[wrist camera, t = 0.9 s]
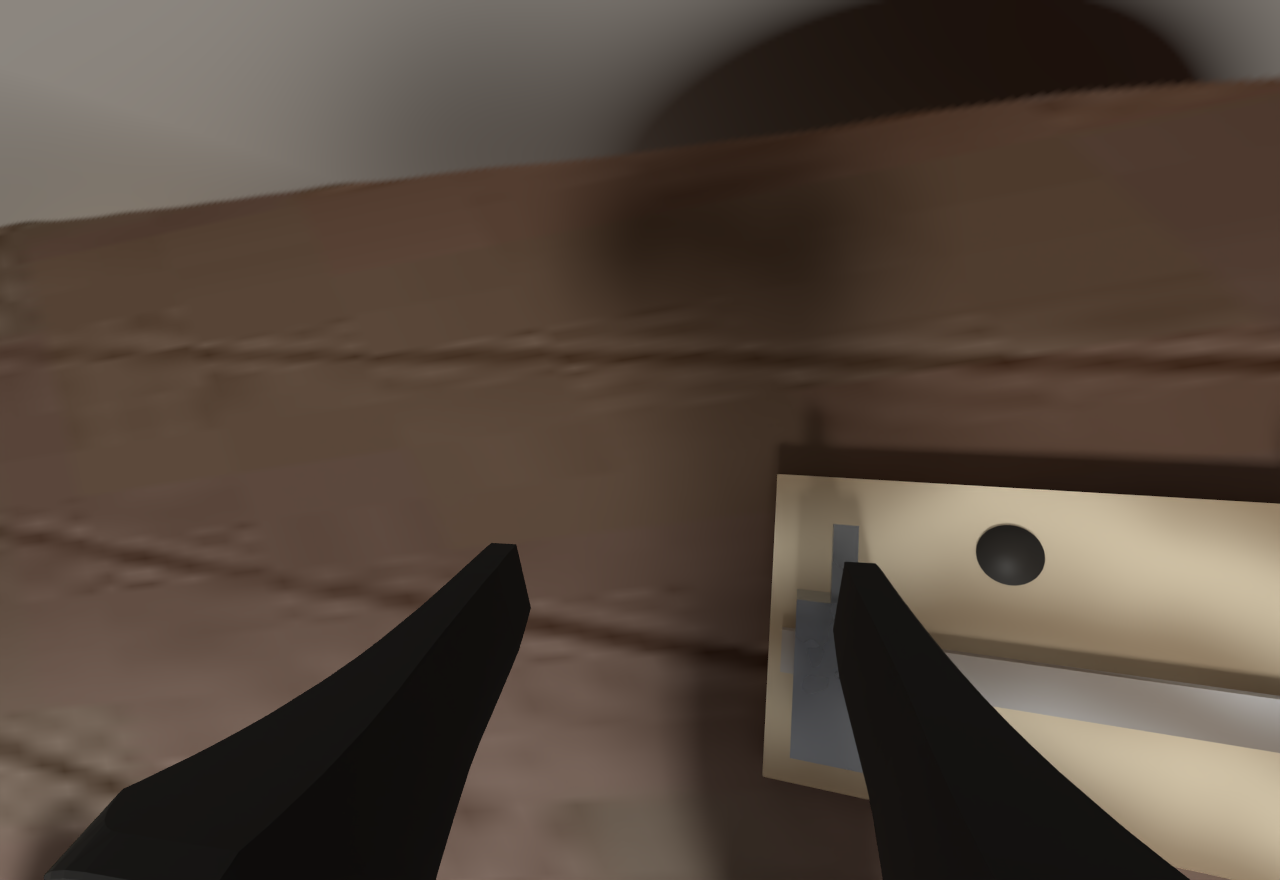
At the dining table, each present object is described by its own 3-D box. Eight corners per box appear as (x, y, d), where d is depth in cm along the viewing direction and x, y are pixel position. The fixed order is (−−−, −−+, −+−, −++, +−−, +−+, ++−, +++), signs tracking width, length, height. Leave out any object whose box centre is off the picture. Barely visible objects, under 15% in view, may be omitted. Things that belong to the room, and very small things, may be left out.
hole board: (1555, 927, 16) (1883, 1103, 11) (764, 760, 23) (755, 825, 18) (1506, 520, 17) (1776, 520, 13) (778, 476, 24) (773, 465, 19)
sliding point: (875, 735, 20) (890, 779, 16) (791, 719, 21) (789, 758, 17) (881, 527, 21) (896, 529, 17) (800, 521, 22) (800, 521, 18)
